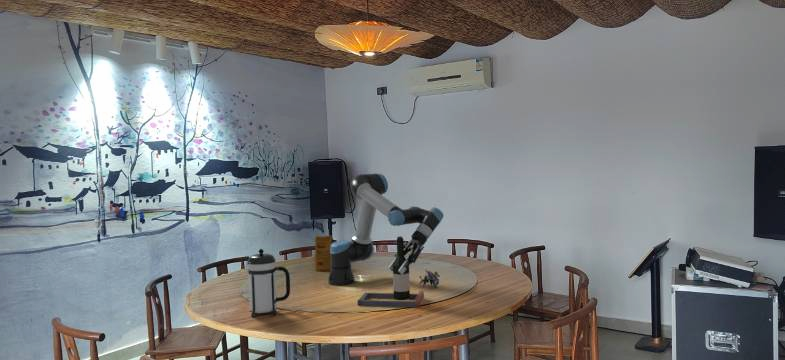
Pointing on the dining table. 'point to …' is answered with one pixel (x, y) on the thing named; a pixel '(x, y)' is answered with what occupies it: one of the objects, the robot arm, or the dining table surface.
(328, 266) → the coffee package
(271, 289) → the coffee press
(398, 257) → the wine bottle
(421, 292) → the frame
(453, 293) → the dining table surface
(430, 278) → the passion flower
